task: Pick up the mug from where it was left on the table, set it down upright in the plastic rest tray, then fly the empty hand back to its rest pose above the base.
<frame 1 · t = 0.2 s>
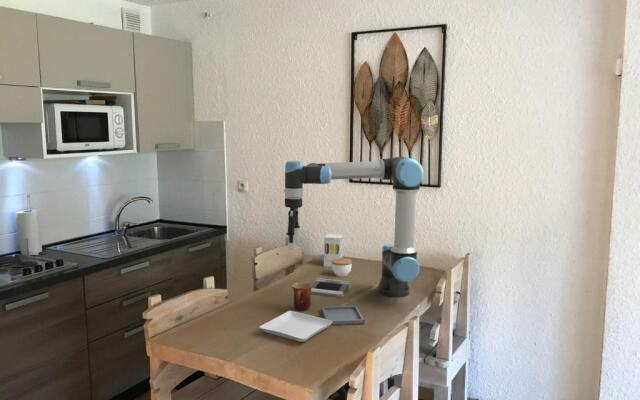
hand: (293, 246, 236), 27 cm above the table, fingers open, 13 cm apart
salad plate: (296, 332, 212), on the table
mug: (301, 310, 235), on the table
supplement box: (332, 265, 307), on the table
rest tray: (342, 317, 227), on the table
lidded jar: (341, 275, 288), on the table
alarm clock: (329, 291, 262), on the table
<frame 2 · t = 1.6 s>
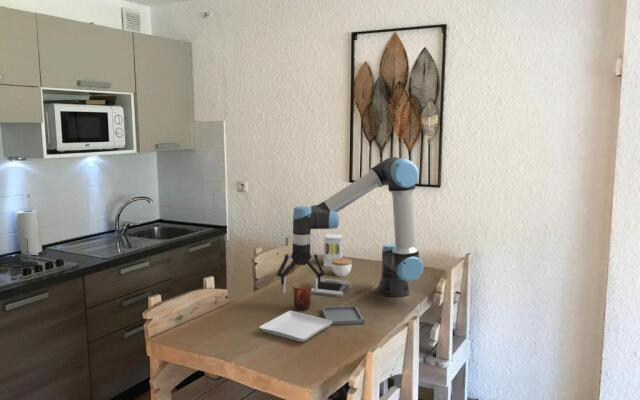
hand: (300, 291, 234), 8 cm above the table, fingers open, 13 cm apart
nothing on the table moved.
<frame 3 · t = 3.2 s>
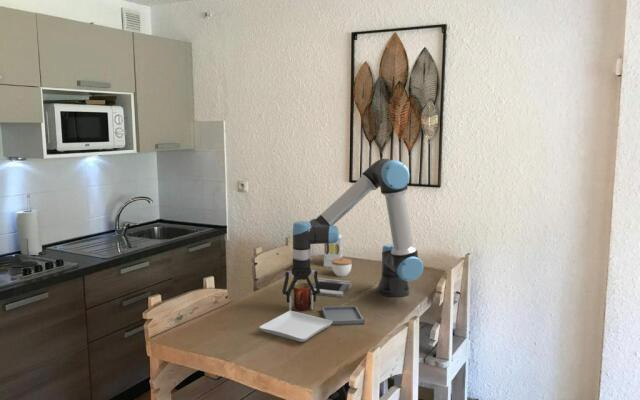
hand: (301, 309, 235), 0 cm above the table, fingers open, 9 cm apart
nothing on the table moved.
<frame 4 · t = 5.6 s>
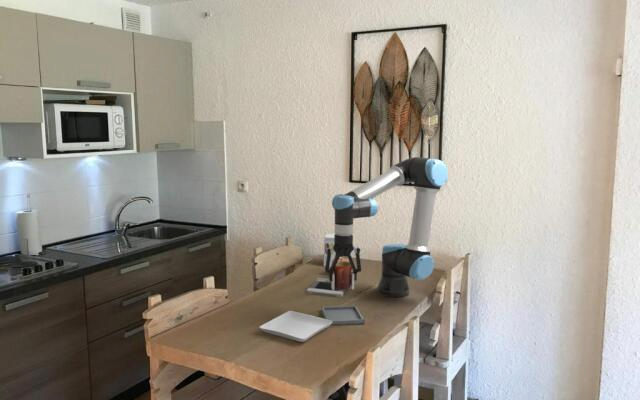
hand: (342, 288, 225), 12 cm above the table, fingers closed on mug, 7 cm apart
mug: (341, 289, 225), point 12 cm above the table, touching gripper
everything else where it was.
when the fingers open (2 cm above the table, at t = 7.8 s): mug drops 1 cm, resting on rest tray.
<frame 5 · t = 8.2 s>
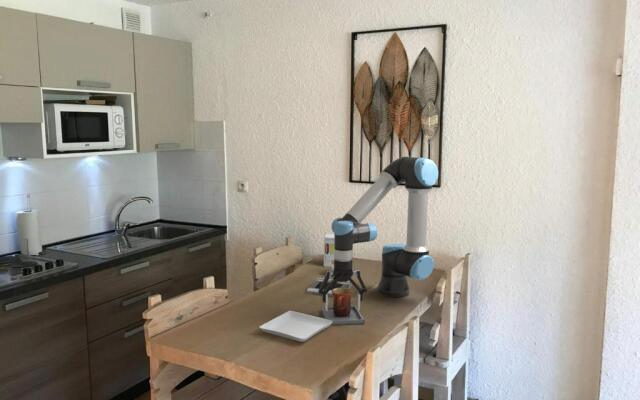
hand: (342, 309, 226), 3 cm above the table, fingers open, 13 cm apart
mug: (341, 316, 227), resting on rest tray
everything else where it was.
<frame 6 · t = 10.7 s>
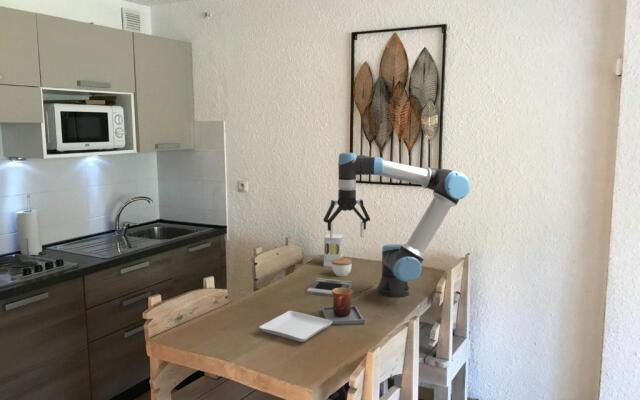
hand: (346, 237, 238), 30 cm above the table, fingers open, 13 cm apart
nothing on the table moved.
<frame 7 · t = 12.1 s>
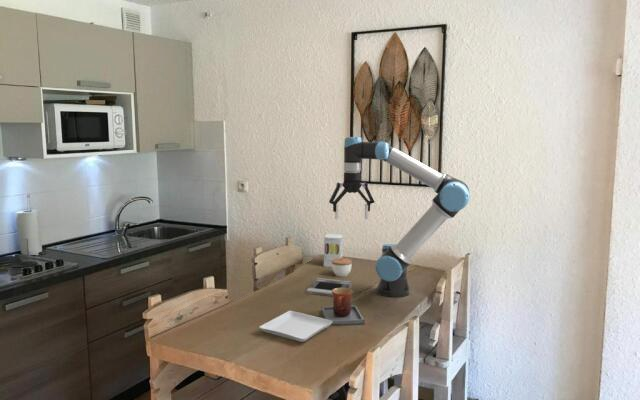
hand: (351, 218, 247), 37 cm above the table, fingers open, 13 cm apart
nothing on the table moved.
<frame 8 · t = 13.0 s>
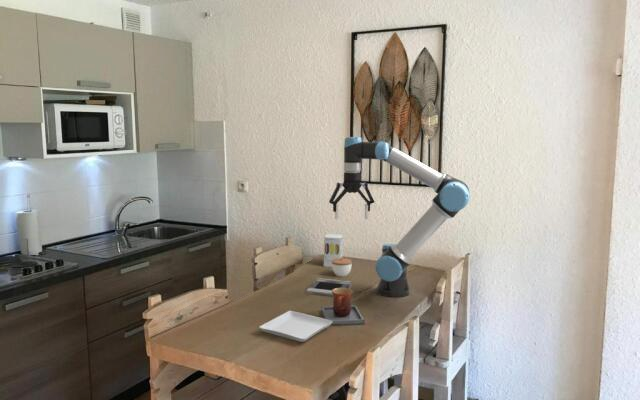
hand: (351, 218, 247), 37 cm above the table, fingers open, 13 cm apart
nothing on the table moved.
at the end: mug inside the target area on the rest tray (0.5 cm from its centre), point 0.4 cm above the rest tray's base; mug tilted 0°; the gripper is holding nothing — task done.
